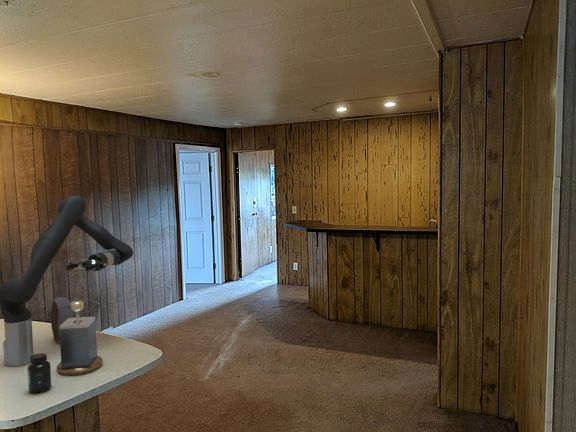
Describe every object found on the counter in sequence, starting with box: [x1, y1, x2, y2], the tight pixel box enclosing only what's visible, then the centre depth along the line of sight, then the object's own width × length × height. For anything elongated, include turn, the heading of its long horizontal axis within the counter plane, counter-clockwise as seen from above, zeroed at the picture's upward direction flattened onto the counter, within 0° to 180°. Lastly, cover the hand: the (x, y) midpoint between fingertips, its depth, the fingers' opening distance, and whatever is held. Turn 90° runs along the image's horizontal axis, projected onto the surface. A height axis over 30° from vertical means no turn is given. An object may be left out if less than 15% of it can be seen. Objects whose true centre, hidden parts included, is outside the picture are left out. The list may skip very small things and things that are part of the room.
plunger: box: [70, 300, 85, 322], centre depth 168 cm, size 7×7×22 cm
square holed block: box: [56, 316, 104, 377], centre depth 169 cm, size 16×16×18 cm
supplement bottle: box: [27, 352, 52, 395], centre depth 151 cm, size 7×7×12 cm
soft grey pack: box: [50, 296, 76, 343], centre depth 197 cm, size 15×8×20 cm, turn 42°
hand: (76, 268), depth 179 cm, fingers open, 8 cm apart
